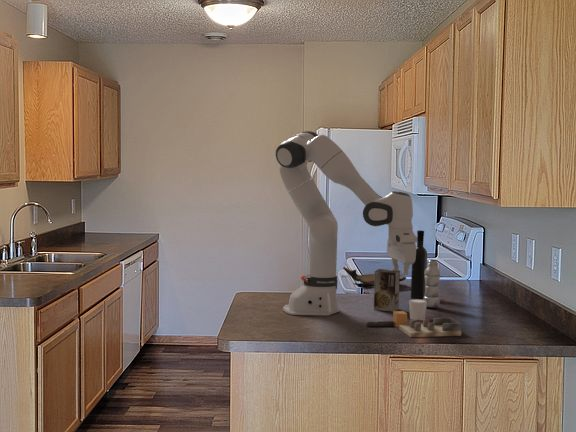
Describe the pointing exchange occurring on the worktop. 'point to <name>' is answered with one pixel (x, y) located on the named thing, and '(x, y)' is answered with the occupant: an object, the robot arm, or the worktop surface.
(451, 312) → the worktop surface
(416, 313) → the shot glass
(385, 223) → the robot arm
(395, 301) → the coffee box
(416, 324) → the board
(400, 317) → the plug
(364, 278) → the oil lamp
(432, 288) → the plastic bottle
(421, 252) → the wine bottle
